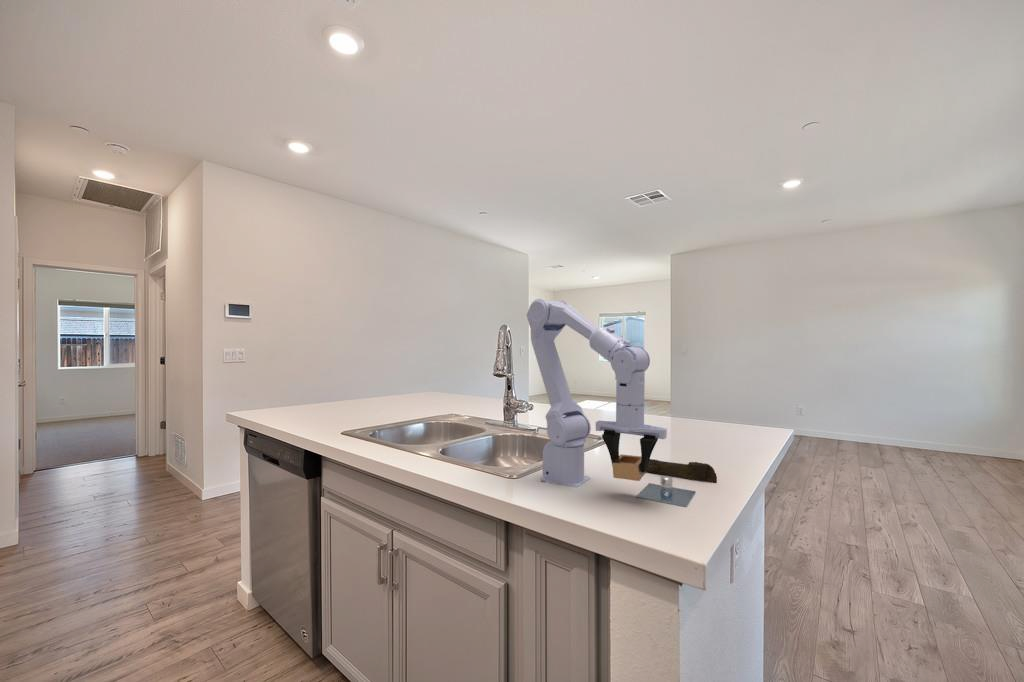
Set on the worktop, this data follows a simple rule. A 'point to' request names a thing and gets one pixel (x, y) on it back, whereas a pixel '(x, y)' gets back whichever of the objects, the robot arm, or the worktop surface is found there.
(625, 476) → the square wooden frame
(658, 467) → the dark brown long piece
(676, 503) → the piston plate
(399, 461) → the worktop surface
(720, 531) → the worktop surface
